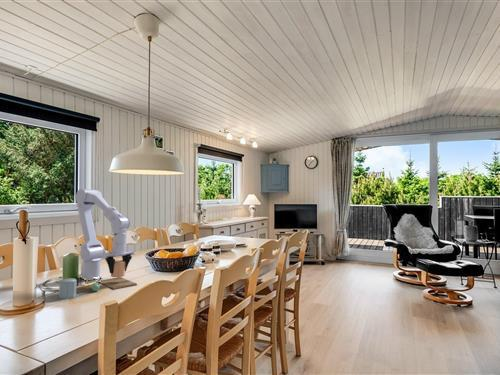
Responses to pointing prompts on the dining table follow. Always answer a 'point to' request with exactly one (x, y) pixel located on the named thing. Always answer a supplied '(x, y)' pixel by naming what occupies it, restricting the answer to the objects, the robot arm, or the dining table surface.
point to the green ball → (95, 287)
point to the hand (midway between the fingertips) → (117, 272)
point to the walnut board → (117, 283)
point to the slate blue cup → (67, 288)
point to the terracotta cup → (119, 268)
